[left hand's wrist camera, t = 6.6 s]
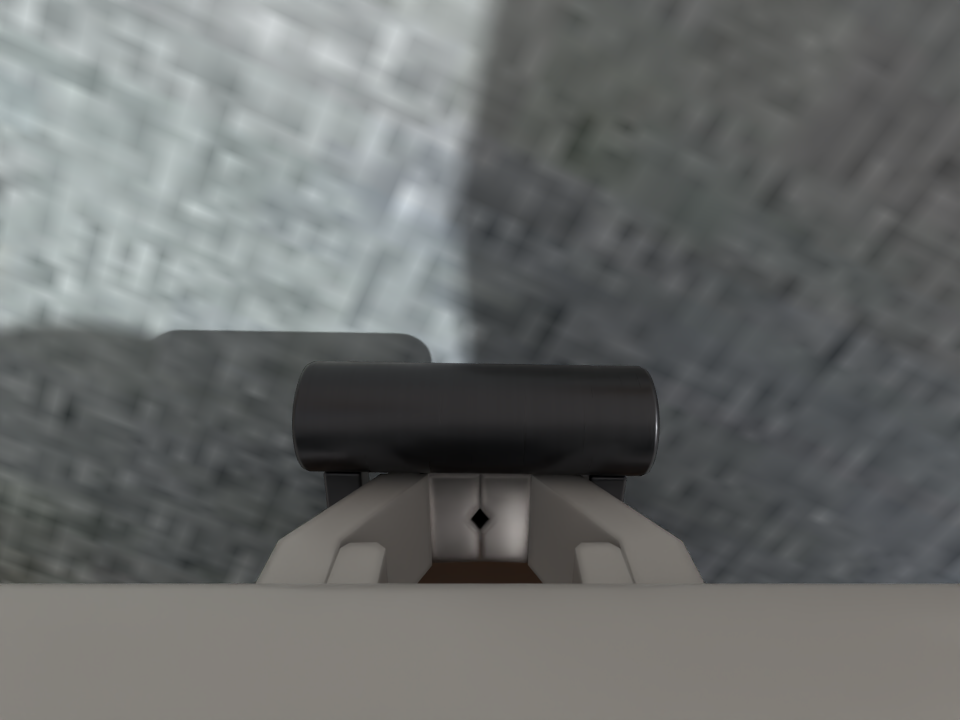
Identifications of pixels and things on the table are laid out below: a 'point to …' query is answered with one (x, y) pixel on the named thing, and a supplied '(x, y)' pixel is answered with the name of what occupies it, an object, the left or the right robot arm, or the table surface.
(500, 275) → the table surface
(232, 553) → the table surface
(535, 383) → the drawer
